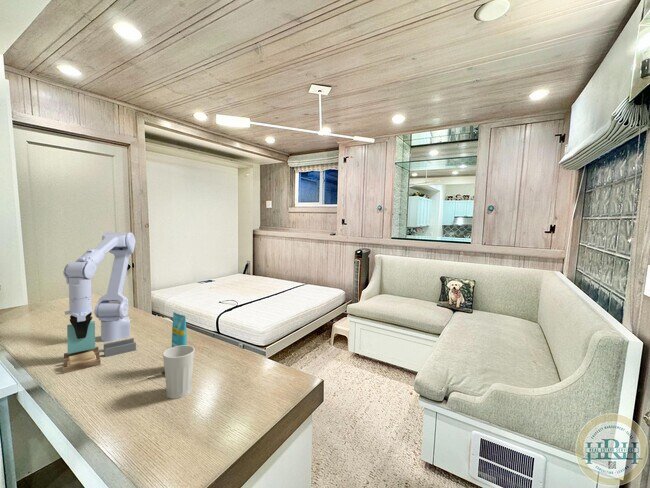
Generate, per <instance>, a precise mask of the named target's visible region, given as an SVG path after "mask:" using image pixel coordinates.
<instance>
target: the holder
mask: <svg viewBox="0 0 650 488" xmlns="http://www.w3.org/2000/svg"><path fill="white" fill-rule="evenodd" d="M134 340H135V339H134V337H132V338H131V337H130V338H125V339H120V340H115V341H110V342H106V343H103V354H104V358H108V357H113V356H116V355H117V356H118V355H121V354H126V353H131V352H134V351H137V342H135V341H134Z"/></svg>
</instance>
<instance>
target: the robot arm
mask: <svg viewBox="0 0 650 488" xmlns="http://www.w3.org/2000/svg"><path fill="white" fill-rule="evenodd" d="M135 247H136V237H135V235H134V233H133V232H117V231H116V232H113V231H111V232H110V231H106V232H104V233H103V234H102V237H101V241H100V242H99V243H98V245H97V246H96V247H95V248H90V249H87V250H86V252H85V253H83V254H82V255H81V256H80V257H78V258H77V260H75V261H70V262H69V263H67V264H66V265H65V267H64V269H63V272H62V273H63V276H64V278H65V280H66V281H65V282H66V284H67V285H68V298H69V299H68V305H69V306H68V307H69V308H68V309H69V310H66V311H64V315H65V316H67V315H69V322H70V324H72V325H73V327H74V329H75V333H76V336H77V339H81V338H86V335H87V330H88V326H89V323H90V321H93V316H92V312H93V310H94V316H95V318H97V319H98V321H100V341H101V342H106V343H110V342H116V341H120V340H124V339H129V338H131V321H130V317H129V315H128V313H129V308H130V307H129V298H128V297H126V296H125V295H124V294H123V292H124V286H125V281H126V277H127V271H128V268H129V267H128V266H129V262H130V257H131V255H132V254H133V253H134V252H135V251H134V250H135ZM107 253H110V254H113V256H114V259H113V263H112V268H111V274H110V277H109V282H108V285H107V286H108V287H107V291H106V294H104V295H103V296H101V297H99V298H98V301H97V304H96V305H95V307H94V309H93V302H92V301H93V298H92V295H93V294H92V278H94V276H95V274H96V271H97V270H98V267H99V266H100V265H101V263H103V261H104V260H105V258H106V256H105V255H106V254H107Z"/></svg>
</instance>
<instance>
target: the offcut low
mask: <svg viewBox="0 0 650 488" xmlns="http://www.w3.org/2000/svg"><path fill="white" fill-rule="evenodd" d="M95 360H96V355H95V359H91V360H87V361H83V362H79V363H76V364H72V365H70V363H69V361H68V363H67V367H69V366H74V365H78V364H82V363H87V362H91V361H95Z"/></svg>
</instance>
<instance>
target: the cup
mask: <svg viewBox="0 0 650 488" xmlns="http://www.w3.org/2000/svg"><path fill="white" fill-rule="evenodd" d="M195 350H196V348H195V347H194V346H192V345H188V344H187V345H181V346H175V347H172V346H171V347H169V348H167V349H166V350H164V351H163V353H162V357H163V366H164V378H165V379H164V380H165V386H166V387H165V389H166V397H167V398H169V399H173V400H175V399H181V398H184V397H186V396H188V395H189V394H190V393H191V392H192V390H193V389H192V387H193V386H192V383H193V373H194V372H193V371H194V360H195Z"/></svg>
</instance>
